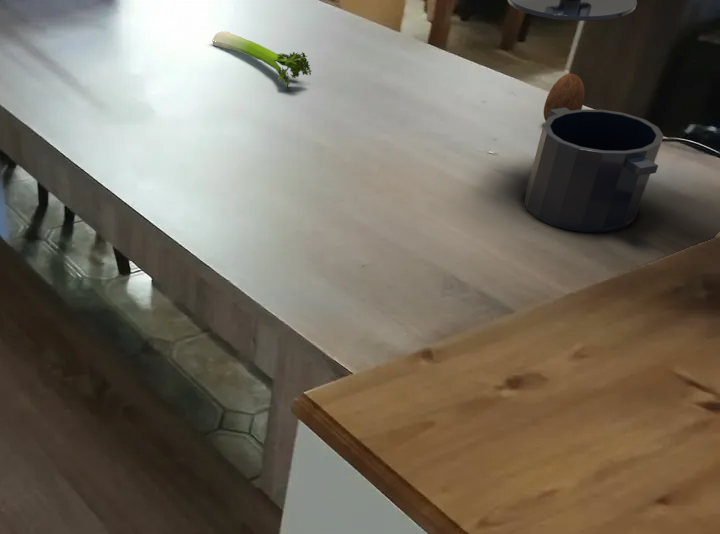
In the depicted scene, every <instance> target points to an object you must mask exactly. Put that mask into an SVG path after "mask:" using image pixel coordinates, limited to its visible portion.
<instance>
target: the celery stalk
mask: <svg viewBox="0 0 720 534" xmlns="http://www.w3.org/2000/svg"><path fill="white" fill-rule="evenodd" d="M211 40H212V45H213V46H216V47H220V48H225V49H229V50H232V51H235V52H238V53H242V54H245V55H247V56H250V57H253V58H254V59H257V60H260V61H262V62H263V63H265V64H267V65H268V66H270V67H271V68H273V69H275V71H276V72H277V73H278V77H277V80H278V82H279V83H281V81H282V82H283V80H284V83H285V86H286V89H287V90H288V89H289V85H290V76H291V78H292V79H296V78H297V77H298V78H299V77H300V72H302V76H304V75H306V76H308V75H309V76H311V75H312V70H311V67H310V66H311V65H310V64H309V60H308V59H307V57H308V55H306V53H305V52H303V51H302V52H301V54H300V53H299V52H294V51H293V52H292V53H289V54H287V53H282V52H281V53H276V52H274V51H272V50H271V49H269V48H267V47H264V46H262V45H260V44H259V43H256V42H254V41H252V40H249V39H247V38H245V37H242V36H239V35H237V34H234V33H231V32H230V31H226V30H224V31H218V32H216V34H215V35H214V36H213V38H212V39H211ZM213 40H214V41H213ZM215 41H216V42H215ZM279 64H280V65H281V66H282V67H281V66H280V65H279ZM283 66H284V67H286V68H285V69H284V68H283ZM289 69H290V70H289ZM288 71H290V72H291V73H289V72H288ZM289 75H290V76H289Z"/></svg>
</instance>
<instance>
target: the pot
mask: <svg viewBox="0 0 720 534" xmlns="http://www.w3.org/2000/svg"><path fill="white" fill-rule="evenodd" d="M548 117H549V118H548V119H547V121H545V122H544V124H543V126H542V129H541V133H540V136H539V141H538V144H537V148H536V152H535V156H534V159H533V163H532V168H531V171H530V174H529V175H530V176H529V179H528V183H527V187H526V191H525V195H524V205H525V209H526V210H527V211H528V213H530V214H531V216H532V217H534V218H536V219H537V220H539V221H540V222H543V223H546V224H547V225H550V226H551V227H552V226H553V227H556V228H559V229H563V230H567V231H571V232H572V231H573V232H579V233H606V232H613V231H617V230H620V229H623V228H625V227H627V226H629V225H631V224H632V223H633V222H634V220H635V219H636V216H637V213H638V211H639V208H640V205H641V203H642V199H643V196H644V194H645V191H646V188H647V185H648V182H649V180H650V177H651V175H652V174H656V173H657V171H658V168H659V164H657V163H656V159H657V157H658V153H659V151H660V148H661V146H662V143H663V139H664V134H663V132H662V131H661V130H660V128H659V127H658V126H657V125H655V124H653V123H652V122H650V121H648V120H647V119H644V118H641V117H639V116H635V115H632V114H630V113H629V114H628V113H625V112H621V111H613V110H607V109H589V108H587V109H585V108H582V109H579V110H573V111H571V110H569V109H567V108H566V107H565V108H558V109H551V110H549V114H548Z"/></svg>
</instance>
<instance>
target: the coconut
mask: <svg viewBox="0 0 720 534" xmlns="http://www.w3.org/2000/svg"><path fill="white" fill-rule="evenodd" d="M585 89H586V88H585V85H584V83H583V80H582V78H580V76H578V75H577V74H574V73H566V74H563V75H562V76H560V77H559V79H558V80H557V81H555V83H554V84H553V86H552V87H551V88H550V90H549V92H548V94H547V97H546V99H545V102H544V106H543V119H544V121H545V122H546V121H547V119H548V118H549V117H548V114H549V110H551V109H558V108H565V107H566V108H567V109H569V110H571V111H573V110H579V109H583V105H584V103H585V102H584V101H585V94H586V93H585V92H586V91H585Z"/></svg>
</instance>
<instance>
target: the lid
mask: <svg viewBox="0 0 720 534" xmlns="http://www.w3.org/2000/svg"><path fill="white" fill-rule="evenodd" d="M506 1H507V3H508V4H509V6H511V7H512V8H514V9H516V10H518V11H520V12H522V13H525V14H529V15H532V16H536V17H541V18H546V19H553V20H559V21H577V22H581V21H582V22H587V21H588V22H593V21H594V22H595V21H604V20H612V19H616V18H617V19H618V18H621V17H624V16H627V15H629V14H631V13H633V12H634V11H635V9H636V8H637V7H636V6H637V4H638V2H637V1H638V0H506Z"/></svg>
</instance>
